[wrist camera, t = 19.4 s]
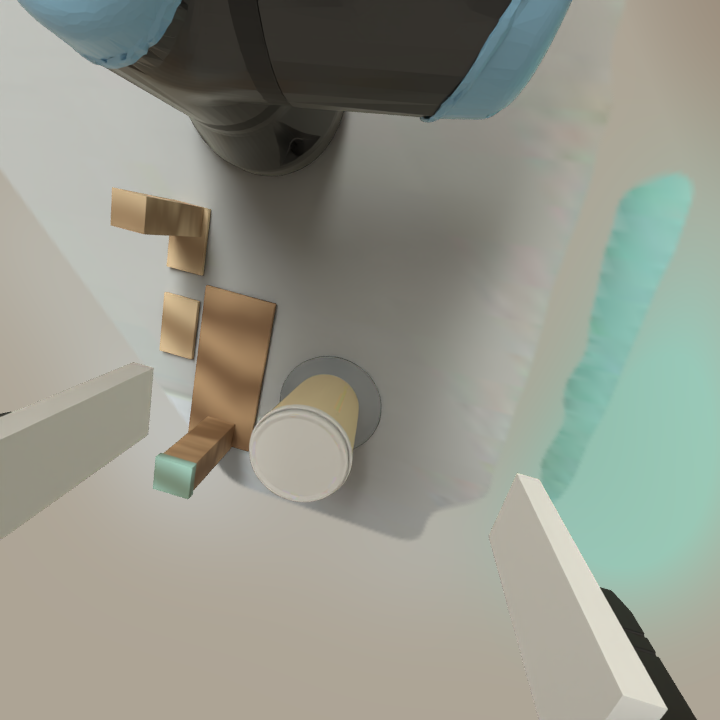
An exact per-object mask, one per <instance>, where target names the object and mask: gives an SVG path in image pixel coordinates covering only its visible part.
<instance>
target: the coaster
mask: <svg viewBox="0 0 720 720" xmlns="http://www.w3.org/2000/svg"><path fill="white" fill-rule="evenodd" d="M320 374H329V375H334V376H337V377H339V378H341V379H343V380H344V381H346V382H347V383H348V384H349V385H350V386H351V387H352V388H353V390H354V392H355V394H356V396H357V399H358V403H359V412H358V421H357V428H356V435H355V441H354V447H353V449H354V448H356V447H358V446H360V445H361V444H363V443H364V442H365V441H367V440H368V439H369V438H370V436H371V435H372V434H373V433H374V431H375V429H376V427H377V425H378V422H379V419H380V414H381V400H380V395H379V392H378V390H377V387H376V385H375V383H374V382H373V380H372V379H371V378H370V376H369V375H368V374H367V373H366V372H365V371H364V370H363V369H361V368H360V367H359V366H357V365H356V364H354V363H352V362H350V361H348V360H345V359H342V358H338V357H329V356H326V357H317V358H313V359H310V360H307V361H305V362H303V363H302V364H300V365H299V366H297V367H296V368H295V369H294V370H293V371H292V372H291V373H290V374H289V375H288V377H287V379H286V380H285V382H284V384H283V387H282V390H281V395H280V402H281V401H282V400H283V399H284V398H286V397H287V396H288V395H289V394H290V393H291V392H292V391H293V390H294V389H295V388H296V387H298V386H299V385H300V384H301V383H302V382H303V381H305V380H306V379H308V378H310V377H312V376H315V375H320Z"/></svg>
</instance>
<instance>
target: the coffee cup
mask: <svg viewBox="0 0 720 720" xmlns="http://www.w3.org/2000/svg"><path fill="white" fill-rule="evenodd" d="M358 412H359V403H358V399H357V396H356V394H355V392H354V390H353V388H352V387H351V386H350V385H349V384H348V383H347V382H346V381H344V380H343V379H341V378H339V377H337V376H334V375H329V374H320V375H315V376H312V377H310V378H308V379H306V380H305V381H303V382H302V383H301V384H300V385H299V386H298V387H296V388H295V389H294V390H293V391H292V392H291V393H290V394H289V395H288V396H287V397H286V398H284V399H283V400H282V401H281V402H280V403H279V404H278V405H277V406H276V407H275V408H274V409H273V410H272V411H270V412H269V413H267V414H266V415H265V416H264V417H262V418H261V419H260V421H259V422H258V423H257V424H256V426H255V428H254V430H253V432H252V434H251V438H250V443H249V454H250V461H251V465H252V468H253V470H254V472H255V474H256V476H257V477H258V479H259V480H260V481H261V483H262V484H263V485H264V486H265V487H266V488H267V489H269V490H270V491H271V492H273V493H274V494H276V495H278V496H280V497H282V498H284V499H288V500H291V501H296V502H312V501H317V500H321V499H323V498H325V497H327V496H329V495H331V494H332V493H334V492H335V491H337V490H338V489H339V488H340V487H341V486H342V485H343V484H344V482H345V481H346V479H347V477H348V476H349V473H350V471H351V467H352V459H353V447H354V441H355V435H356V428H357V421H358Z"/></svg>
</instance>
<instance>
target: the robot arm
mask: <svg viewBox="0 0 720 720" xmlns="http://www.w3.org/2000/svg"><path fill="white" fill-rule="evenodd" d="M17 1H18V2H19V3H20V4H21V6H22V7H23V8H24V9H25V10H26V11H27V12H28V13H29V14H30V15H31V16H32V17H33V18H35V19H36V20H37V21H38V22H39V23H40V24H42V25H43V26H44V27H46V28H47V29H48V30H50V31H51V32H53V33H54V34H55V35H56V36H58V37H59V38H60V39H62V40H63V41H64V42H66V43H67V44H68V45H70V46H71V47H72V48H73V49H74V50H75V51H76V52H78V53H79V54H80V55H81V56H82V57H84V58H85V59H87V60H89V61H90V62H92V63H93V64H96V65H101V66H104V67H105V68H107V69H109V70H110V71H112V72H114V73H116V74H117V75H119V76H121V77H122V78H124V79H126V80H128V81H129V82H131V83H133V84H134V85H136V86H138V87H140V88H141V89H143V90H145V91H146V92H148V93H150V94H152V95H153V96H155V97H157V98H159V99H160V100H162V101H164V102H165V103H167V104H169V105H171V106H172V107H174V108H176V109H177V110H179V111H181V112H183V113H184V114H186V115H188V116H189V117H190V119H191V121H192V123H193V125H194V126H195V128H196V130H197V131H198V133H199V134H200V136H201V137H202V139H203V140H204V141H205V142H206V143H207V145H208V146H209V147H210V148H211V149H212V150H213V151H215V152H216V153H217V154H218V155H219V156H220V157H222V158H223V159H225V160H226V161H228V162H229V163H231V164H233V165H235V166H237V167H239V168H241V169H243V170H245V171H248V172H251V173H254V174H258V175H264V176H278V175H285V174H289V173H292V172H295V171H297V170H299V169H301V168H303V167H305V166H307V165H308V164H309V163H311V162H312V161H313V160H315V159H316V158H317V157H318V156H319V155H320V154H321V153H322V152H323V151H324V150H325V148H326V147H327V146H328V144H329V143H330V141H331V140H332V138H333V136H334V135H335V133H336V131H337V128H338V126H339V123H340V121H341V118H342V114H343V111H349V112H362V113H375V114H388V115H400V116H413V117H420V120H421V121H423V122H433V121H436V120H438V119H473V120H479V119H485V118H489V117H491V116H493V115H495V114H496V113H498V112H499V111H500V110H502V109H504V108H505V107H507V106H508V105H509V104H510V103H511V102H512V101H513V100H514V99H515V98H516V97H517V96H518V95H519V94H520V93H521V91H522V90H523V89H524V87H525V86H526V85H527V83H528V82H529V80H530V79H531V77H532V76H533V74H534V73H535V71H536V69H537V68H538V66H539V64H540V63H541V61H542V59H543V58H544V56H545V54H546V52H547V50H548V49H549V47H550V45H551V43H552V41H553V39H554V37H555V35H556V33H557V31H558V29H559V27H560V25H561V23H562V21H563V19H564V17H565V15H566V12H567V10H568V8H569V6H570V4H571V2H572V0H17ZM153 369H154V368H152V367H148V366H145V365H142V364H138V363H134V362H133V363H130V364H128V365H125V366H123V367H121V368H118V369H116V370H113V371H111V372H108V373H106V374H104V375H101V376H99V377H96V378H94V379H92V380H89V381H87V382H84V383H82V384H80V385H77V386H75V387H72V388H70V389H67V390H65V391H62V392H60V393H58V394H55V395H53V396H51V397H48V398H46V399H43V400H41V401H38V402H36V403H33V404H31V405H28V406H26V407H24V408H21V409H19V410H16V411H14V412H7V413H2V414H0V540H1V539H3V538H4V537H6V536H7V535H8V534H10V533H11V532H12V531H14V530H15V529H17V528H18V527H20V526H21V525H22V524H24V523H25V522H27V521H28V520H30V519H31V518H32V517H34V516H35V515H36V514H38V513H39V512H41V511H42V510H43V509H45V508H46V507H48V506H49V505H51V504H52V503H53V502H55V501H56V500H58V499H59V498H60V497H62V496H63V495H64V494H66V493H67V492H69V491H70V490H71V489H73V488H74V487H76V486H77V485H79V484H80V483H81V482H82V481H84V480H85V479H87V478H88V477H90V476H91V475H92V474H94V473H95V472H97V471H98V470H100V469H101V468H102V467H104V466H105V465H107V464H108V463H109V462H111V461H112V460H114V459H115V458H116V457H118V456H119V455H121V454H122V453H123V452H125V451H126V450H128V449H129V448H130V447H132V446H133V445H134V444H136V443H137V442H139V441H140V440H142V439H143V438H144V437H146V436H147V435H148V430H149V418H150V405H151V393H152V381H153ZM489 540H490V543H491V547H492V551H493V554H494V558H495V562H496V565H497V569H498V573H499V576H500V580H501V583H502V587H503V591H504V594H505V598H506V602H507V605H508V609H509V613H510V616H511V620H512V624H513V627H514V631H515V635H516V638H517V642H518V646H519V649H520V653H521V657H522V660H523V664H524V668H525V671H526V675H527V678H528V682H529V686H530V690H531V693H532V697H533V700H534V704H535V707H536V711H537V715H538V719H539V720H697V719H696V718H695V716H694V715H693V713H692V711H691V709H690V708H689V706H688V704H687V703H686V701H685V700H684V698H683V696H682V695H681V693H680V692H679V690H678V688H677V686H676V685H675V683H674V682H673V680H672V678H671V677H670V675H669V673H668V672H667V670H666V668H665V667H664V665H663V663H662V662H661V660H660V658H659V657H656V655H655V650H654V649H653V647H652V645H651V644H650V642H649V640H648V639H647V638H645V637H644V632H643V631H642V629H641V627H640V626H639V624H638V623H637V621H636V619H635V617H634V616H633V614H632V612H631V611H630V610H629V609H628V608H627V607H626V606H625V605H624V604H623V602H622V601H621V600H620V599H619V598H618V597H617V596H616V595H615V594H614V593H613V592H612V591H611V590H608V589H604V588H601V587H599V585H598V584H597V582H596V580H595V578H594V576H593V575H592V573H591V571H590V569H589V568H588V566H587V564H586V562H585V560H584V559H583V557H582V555H581V553H580V551H579V550H578V548H577V546H576V544H575V543H574V541H573V539H572V537H571V535H570V534H569V532H568V530H567V529H566V527H565V525H564V523H563V521H562V519H561V518H560V516H559V514H558V512H557V510H556V509H555V507H554V505H553V503H552V501H551V500H550V498H549V496H548V494H547V493H546V491H545V489H544V487H543V485H542V484H541V482H540V480H539V479H536V478H532V477H529V476H525V475H522V474H518V473H517V474H516V476H515V479H514V481H513V483H512V485H511V487H510V490H509V492H508V494H507V496H506V498H505V501H504V503H503V505H502V508H501V510H500V512H499V514H498V516H497V519H496V521H495V523H494V525H493V528H492V530H491V532H490V535H489Z"/></svg>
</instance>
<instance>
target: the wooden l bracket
mask: <svg viewBox="0 0 720 720" xmlns="http://www.w3.org/2000/svg"><path fill="white" fill-rule="evenodd" d="M275 309H276V304H275V303H271V302H267V301H264V300H260V299H257V298H253V297H249V296H246V295H242V294H238V293H235V292H231V291H228V290H224V289H220V288H217V287H213V286H209V285H206V289H205V297H204V306H203V314H202V322H201V331H200V339H199V347H198V356H197V364H196V372H195V381H194V389H193V397H192V406H191V414H190V422H189V431H188V433H187V434H186V435H185V436H184V437H183V438H181V439H180V440H179V441H178V442H176V443H175V444H174V445H173V446H172V447H170V448H169V449H168V450H167V451H166V452H164V453H160V454H159V455H158V456H156V460H155V471H154V482H153V489H156V490H159V491H163V492H166V493H170V494H172V495H176V496H179V497H182V498H186V499H189V498H190V497H191V495H192V494H193V490H194V489H195V488H196V487H197V486H198V485H199V484H200V483H201V481H202V480H203V479H204V478H205V477H206V476H207V475H208V474H209V472H210V471H211V470H212V469H213V468H214V467H215V466H216V465H217V464H218V462H219V461H220V460H221V459H222V458H223V457H224V456H225V455H226V453H227V452H228V451H229V450H230V449H231V447H235V448H238V449H241V450H245V451H248V452H249V443H250V438H251V434H252V432H253V430H254V425H255V419H256V414H257V408H258V403H259V397H260V392H261V386H262V381H263V375H264V370H265V364H266V359H267V353H268V348H269V342H270V337H271V331H272V326H273V320H274V315H275Z"/></svg>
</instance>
